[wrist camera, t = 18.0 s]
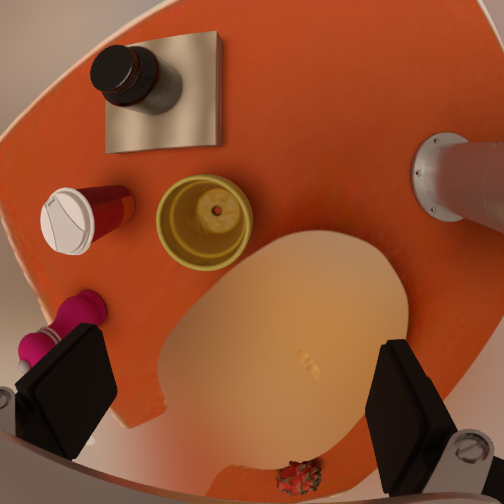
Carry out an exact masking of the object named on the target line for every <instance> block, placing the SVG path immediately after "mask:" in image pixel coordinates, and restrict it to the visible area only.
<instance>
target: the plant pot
mask: <svg viewBox="0 0 504 504" xmlns="http://www.w3.org/2000/svg"><path fill="white" fill-rule="evenodd" d="M215 206H219V207H220V208H221V209H222V213H221V214H220V215H215V214H214V213H213V208H214V207H215ZM156 227H157V232H158V236H159V239H160V241H161V243H162V245H163V247H164V248H165V250H166V251H167V252H168V254H169V255H170V256H171V257H172V258H173V259H175V260H176V261H177V262H179V263H180V264H182V265H184V266H186V267H188V268H191V269H194V270H198V271H213V270H218V269H221V268H224V267H226V266H228V265H229V264H231V263H232V262H234V261H235V260H236V259H237V258H238V257H239V256H240V255H241V254H242V252H243V251H244V249H245V247H246V245H247V243H248V241H249V238H250V235H251V232H252V227H253V214H252V209H251V206H250V203H249V201H248V199H247V197H246V195H245V194H244V193H243V191H242V190H241V189H240V188H239V187H238V186H237V185H236V184H234V183H233V182H232V181H230V180H228V179H226V178H224V177H221V176H218V175H213V174H198V175H193V176H189V177H186V178H183V179H181V180H179V181H178V182H176V183H175V184H173V185H172V186H171V187H170V188H169V189H168V190H167V191H166V192H165V194H164V195H163V197H162V199H161V201H160V203H159V206H158V209H157V214H156Z"/></svg>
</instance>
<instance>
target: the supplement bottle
mask: <svg viewBox="0 0 504 504" xmlns="http://www.w3.org/2000/svg"><path fill="white" fill-rule="evenodd" d="M90 73H91V74H90V77H91V81H92V84H93V85H94V87H95V88H96V89H97V90H100V91H101V92H102V94H103V96H104V98H105V99H106V100H107V101H108V102H109V103H111V104H112V105H115V106H118V107H121V108H125V109H128V110H132V111H136V112H139V113H143V114H147V115H159V114H162V113H165V112H167V111H168V110H170V109H171V108H172V107H173V106H174V105H175V104H176V103H177V101H178V100H179V98H180V96H181V93H182V79H181V76H180V74H179V73H178V72H177V70H176V69H174V68H173V67H172V66H171V65H170V64H168V63H167V62H166V61H164V60H163V59H162V58H160V57H159V56H158V55H156V54H155V53H154V52H152V51H151V50H149V49H147V48H145V47H142V46H130V47H127V46H124V45H113V46H109V47H108V48H105V49H104V50H103V51H101V53H100V54H98V56H97V57H96V58H95V60H94V62H93V64H92V66H91V70H90Z"/></svg>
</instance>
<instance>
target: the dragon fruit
mask: <svg viewBox="0 0 504 504" xmlns="http://www.w3.org/2000/svg"><path fill="white" fill-rule="evenodd" d="M313 463H314V465H316V463H315V462H314V461H310V462H307V461H303V462H302V463H298V462H291V461H290V462H289V465H290V464H291V465H290V466H288V467H285V468H284V469H283V470H282V471H281V472H280V474H279V475H278V477H277V478H276V480H277V487H278V489H279V490H280V491H281V492H282V493H288V494H289V495H290V496H293V495H295V496H296V495H298V494H299V493H300V494H301V495H303V494H307V491H309V490H310V491H316V490H317V486H319V483H320V482H321V474H320V471H321V468H319V467H316V466H315V467H313V466H312V464H313Z"/></svg>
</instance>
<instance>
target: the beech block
mask: <svg viewBox="0 0 504 504" xmlns="http://www.w3.org/2000/svg"><path fill="white" fill-rule="evenodd" d="M130 46H142V47H145V48H147V49H149V50H151V51H152V52H154V53H155V54H156V55H158V56H159V57H160V58H162V59H163V60H164V61H166V62H167V63H168V64H170V65H171V66H172V67H173V68H174V69H176V70H177V72H178V73H179V74H180V76H181V79H182V93H181V96H180V98H179V100H178V101H177V103H176V104H175V105H174V106H173V107H172V108H171V109H170V110H168V111H167V112H165V113H162V114H159V115H147V114H143V113H139V112H136V111H132V110H128V109H125V108H121V107H118V106H115V105H112V104H111V103H109V102H108V101H107V100H106V122H105V145H106V154H120V153H129V152H139V151H150V150H162V149H176V148H193V147H215V146H222V40H221V38H220V36H219V35H218V33H217V31H212V32H202V33H194V34H186V35H179V36H173V37H167V38H161V39H155V40H150V41H145V42H140V43H136V44H131V45H127V47H130Z"/></svg>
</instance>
